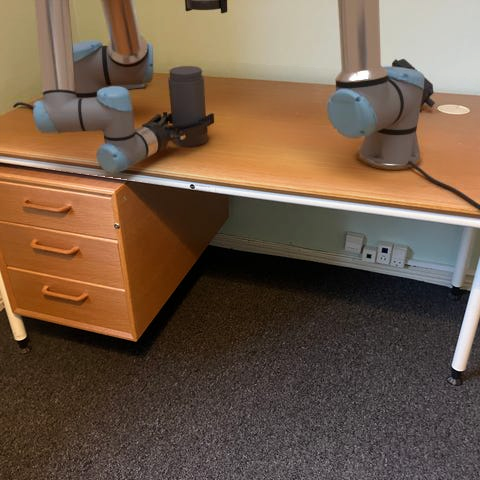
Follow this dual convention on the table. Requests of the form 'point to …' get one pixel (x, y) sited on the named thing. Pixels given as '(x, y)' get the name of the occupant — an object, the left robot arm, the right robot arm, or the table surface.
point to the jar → (187, 100)
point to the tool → (427, 85)
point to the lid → (203, 4)
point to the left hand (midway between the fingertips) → (197, 115)
